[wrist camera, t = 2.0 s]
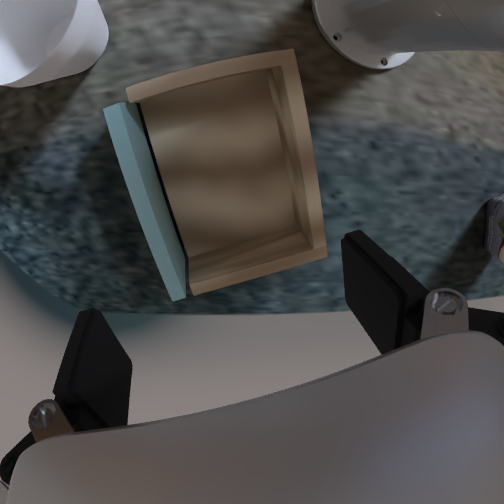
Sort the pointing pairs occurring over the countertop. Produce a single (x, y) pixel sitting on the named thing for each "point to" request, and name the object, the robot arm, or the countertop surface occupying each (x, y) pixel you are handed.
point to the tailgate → (147, 194)
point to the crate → (237, 166)
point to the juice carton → (495, 228)
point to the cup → (49, 39)
